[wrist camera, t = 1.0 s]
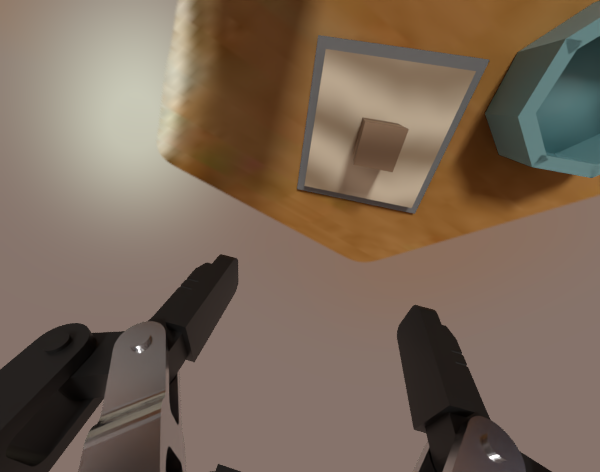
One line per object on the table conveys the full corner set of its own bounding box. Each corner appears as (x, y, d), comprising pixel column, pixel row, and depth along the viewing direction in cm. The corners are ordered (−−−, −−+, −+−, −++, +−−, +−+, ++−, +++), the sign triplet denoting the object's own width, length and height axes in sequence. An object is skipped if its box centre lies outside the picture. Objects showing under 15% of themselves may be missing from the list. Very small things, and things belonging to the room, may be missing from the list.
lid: (326, 50, 20) (318, 35, 16) (470, 72, 19) (512, 63, 14) (305, 183, 28) (295, 201, 23) (409, 204, 26) (423, 229, 22)
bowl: (546, -3, 17) (611, -36, 12) (711, 16, 16) (841, -13, 11) (465, 148, 23) (491, 159, 19) (581, 169, 22) (635, 186, 18)
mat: (318, 36, 20) (318, 35, 20) (487, 60, 19) (489, 59, 19) (297, 187, 29) (297, 188, 28) (413, 212, 27) (414, 213, 27)
